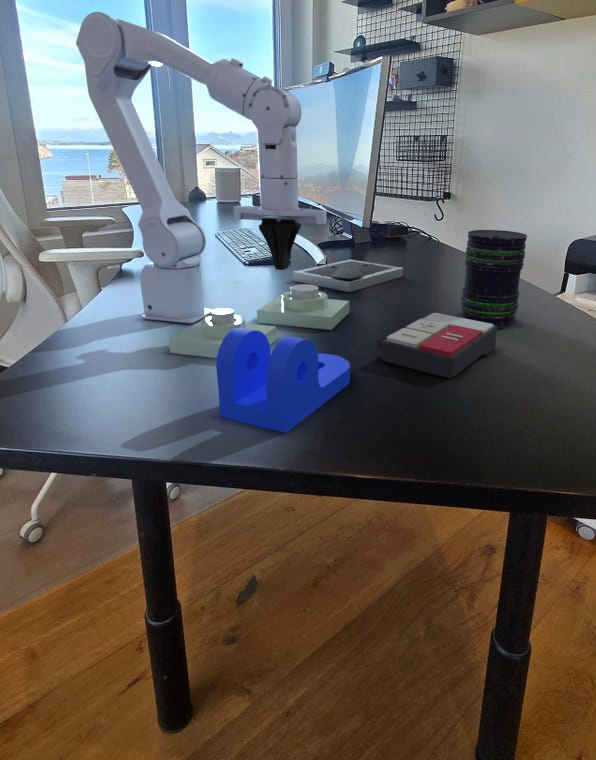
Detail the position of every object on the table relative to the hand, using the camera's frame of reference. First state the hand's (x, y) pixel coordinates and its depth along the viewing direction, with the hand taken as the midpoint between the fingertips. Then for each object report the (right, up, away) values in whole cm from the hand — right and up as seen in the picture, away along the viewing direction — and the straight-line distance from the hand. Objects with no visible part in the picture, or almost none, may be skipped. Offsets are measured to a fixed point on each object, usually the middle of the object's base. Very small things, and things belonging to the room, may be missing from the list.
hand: (281, 268), depth 87 cm
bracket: (+5, -20, -22) cm, 30 cm away
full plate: (+3, -7, +8) cm, 11 cm away
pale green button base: (-7, -13, -7) cm, 16 cm away
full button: (+3, -4, +7) cm, 8 cm away
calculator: (+24, -14, -8) cm, 29 cm away
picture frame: (+10, +5, +38) cm, 40 cm away
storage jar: (+35, -7, +10) cm, 37 cm away
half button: (-7, -9, -8) cm, 14 cm away
